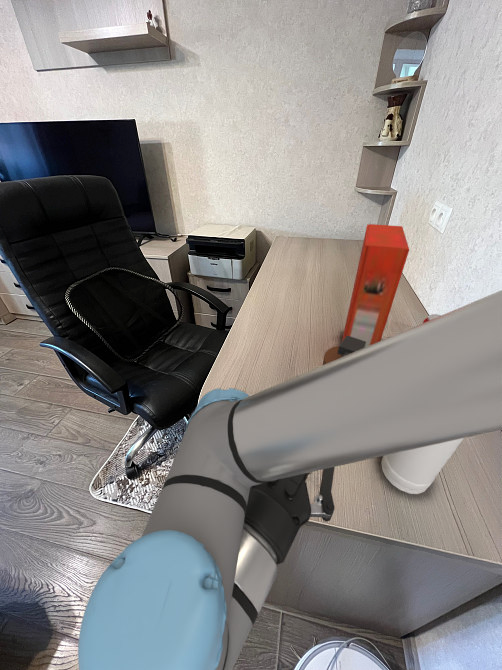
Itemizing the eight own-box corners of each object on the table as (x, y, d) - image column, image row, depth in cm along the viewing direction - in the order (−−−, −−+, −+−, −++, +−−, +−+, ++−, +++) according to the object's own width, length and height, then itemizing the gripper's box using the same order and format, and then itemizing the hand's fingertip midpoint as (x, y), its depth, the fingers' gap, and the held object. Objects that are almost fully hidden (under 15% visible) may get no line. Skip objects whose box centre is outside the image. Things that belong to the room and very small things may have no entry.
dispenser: (320, 404, 62) (338, 321, 49) (359, 422, 58) (389, 337, 45) (301, 434, 56) (315, 348, 43) (342, 457, 52) (372, 369, 39)
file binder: (336, 368, 72) (365, 244, 53) (342, 333, 85) (367, 223, 66) (369, 376, 69) (411, 249, 51) (370, 338, 82) (404, 226, 64)
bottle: (401, 501, 45) (493, 362, 28) (371, 457, 52) (431, 322, 34) (440, 487, 47) (549, 348, 30) (406, 446, 53) (481, 312, 36)
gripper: (208, 518, 35) (294, 400, 51) (302, 597, 29) (365, 435, 45) (202, 489, 31) (298, 370, 47) (311, 574, 25) (378, 404, 41)
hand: (331, 402), depth 46 cm, fingers closed
